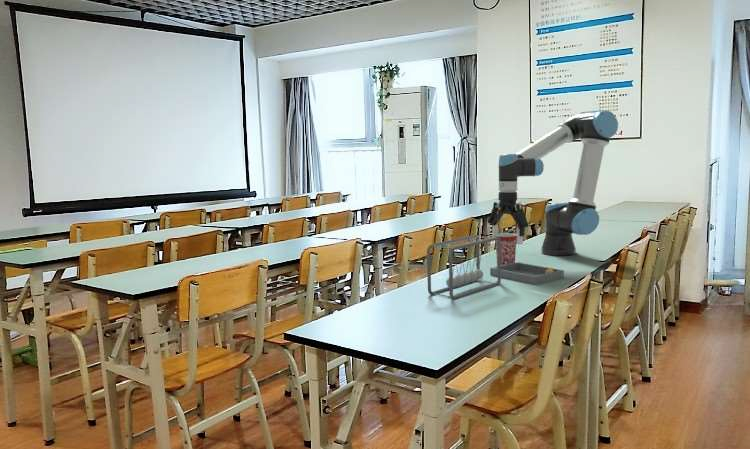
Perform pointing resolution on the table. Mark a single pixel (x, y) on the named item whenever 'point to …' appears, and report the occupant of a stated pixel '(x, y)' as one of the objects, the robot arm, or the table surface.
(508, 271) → the tray
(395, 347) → the table surface
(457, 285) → the newton's cradle
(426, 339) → the table surface
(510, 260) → the mug
